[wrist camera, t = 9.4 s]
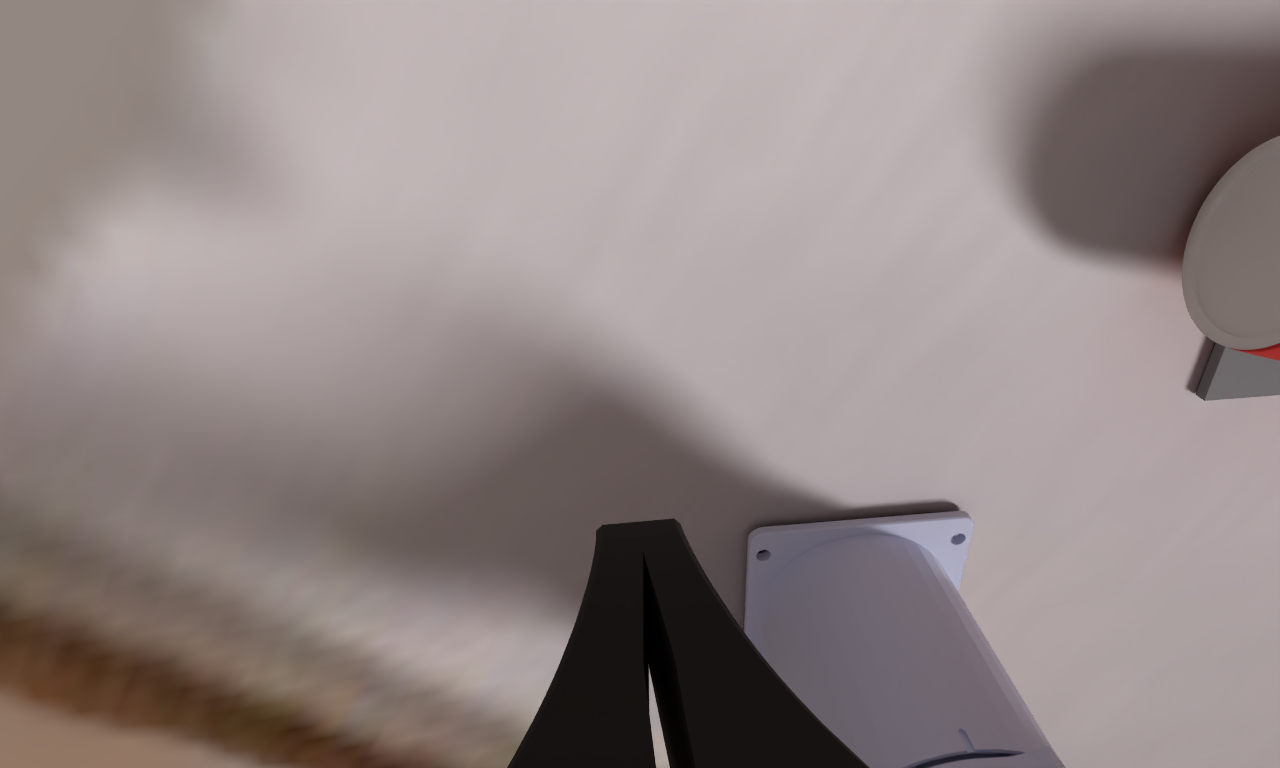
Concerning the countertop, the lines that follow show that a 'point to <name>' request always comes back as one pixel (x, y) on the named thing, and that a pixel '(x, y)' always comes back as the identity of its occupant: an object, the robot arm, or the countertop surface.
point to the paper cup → (1238, 257)
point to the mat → (1238, 375)
